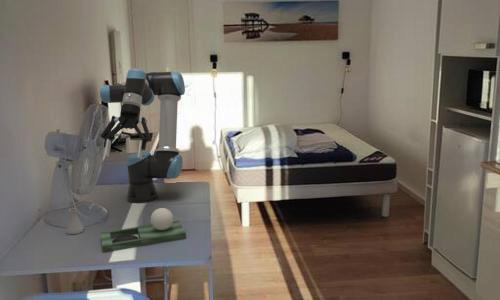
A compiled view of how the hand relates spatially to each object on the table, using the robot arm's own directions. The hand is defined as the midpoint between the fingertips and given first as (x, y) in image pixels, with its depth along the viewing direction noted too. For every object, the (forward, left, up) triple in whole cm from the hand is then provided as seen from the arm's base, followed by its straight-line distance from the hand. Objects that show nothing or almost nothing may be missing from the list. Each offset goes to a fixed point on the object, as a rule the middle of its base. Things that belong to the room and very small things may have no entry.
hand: (122, 157), depth 186 cm
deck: (+3, +5, -34) cm, 34 cm away
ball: (+3, +13, -27) cm, 30 cm away
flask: (-16, -21, -34) cm, 43 cm away
